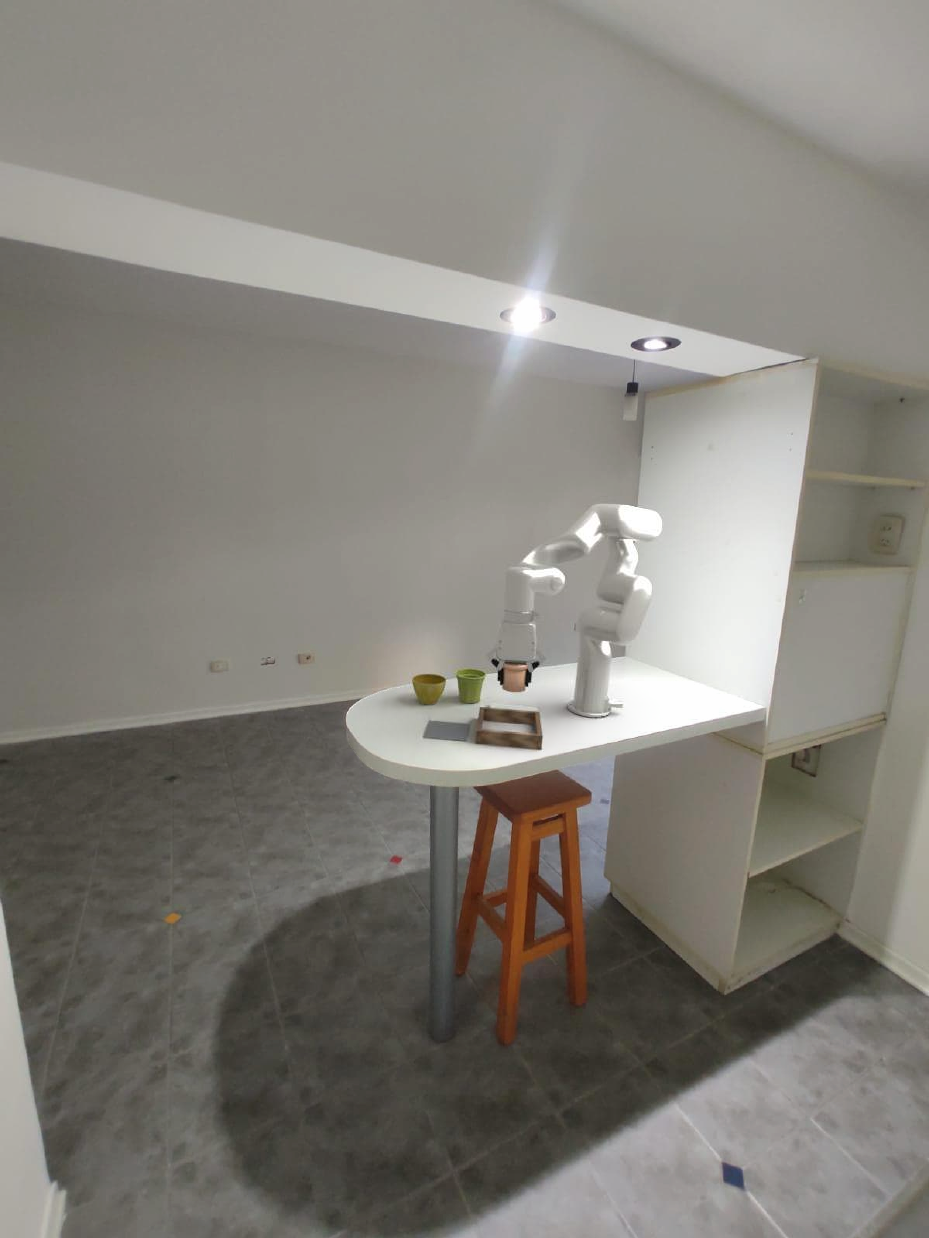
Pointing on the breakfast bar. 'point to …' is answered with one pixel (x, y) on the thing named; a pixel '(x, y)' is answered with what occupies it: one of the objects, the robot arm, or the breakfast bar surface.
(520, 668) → the terracotta pot
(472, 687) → the plant pot
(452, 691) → the breakfast bar surface
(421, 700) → the flower pot
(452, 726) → the slate mat
